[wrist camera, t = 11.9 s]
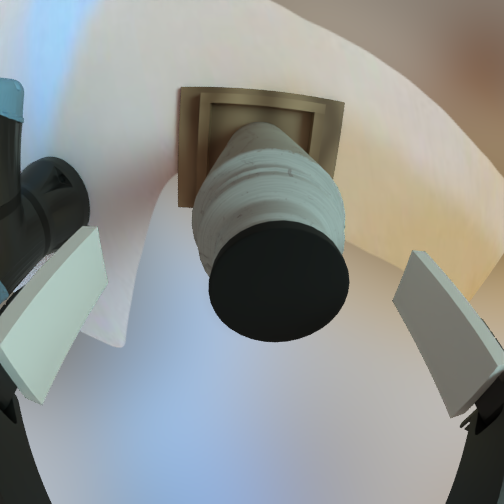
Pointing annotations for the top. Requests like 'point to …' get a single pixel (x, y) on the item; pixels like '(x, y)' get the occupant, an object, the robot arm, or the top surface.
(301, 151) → the thermos bottle
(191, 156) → the brown wooden tray
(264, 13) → the top surface
